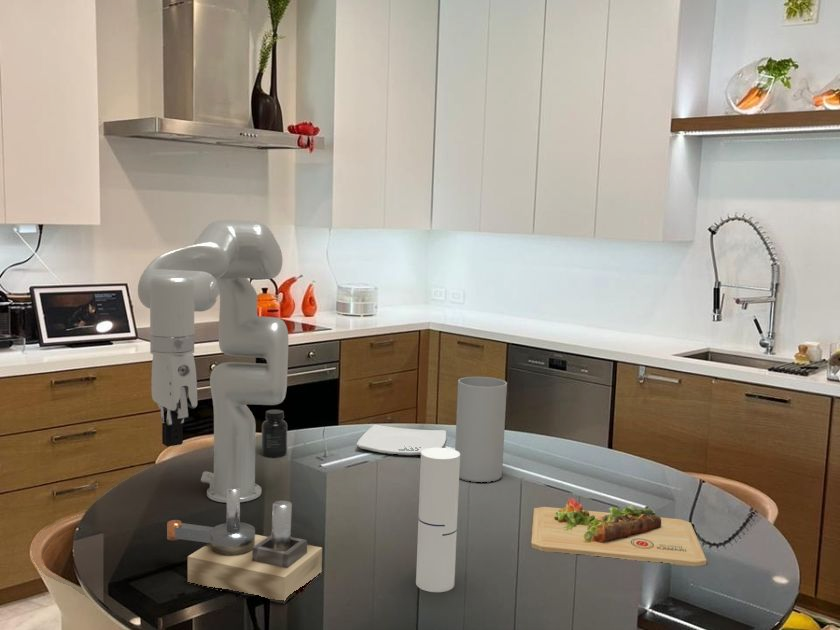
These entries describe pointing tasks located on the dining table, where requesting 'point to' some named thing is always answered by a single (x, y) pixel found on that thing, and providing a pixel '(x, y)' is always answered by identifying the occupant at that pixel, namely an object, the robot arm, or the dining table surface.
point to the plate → (400, 440)
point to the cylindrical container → (437, 519)
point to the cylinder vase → (480, 428)
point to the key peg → (281, 525)
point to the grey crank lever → (219, 530)
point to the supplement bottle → (274, 434)
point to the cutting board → (616, 534)
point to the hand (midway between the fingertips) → (172, 444)
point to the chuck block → (257, 568)
